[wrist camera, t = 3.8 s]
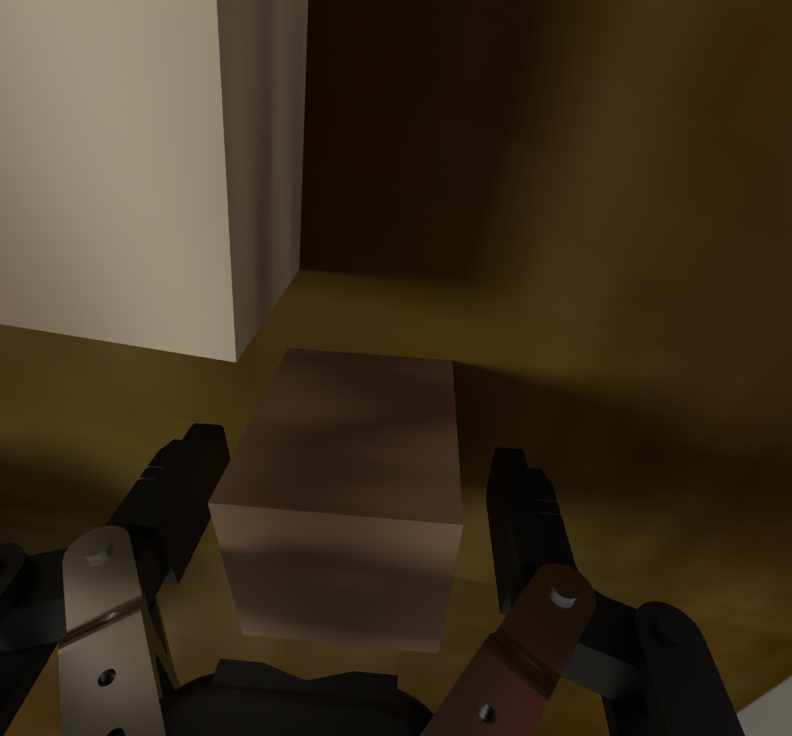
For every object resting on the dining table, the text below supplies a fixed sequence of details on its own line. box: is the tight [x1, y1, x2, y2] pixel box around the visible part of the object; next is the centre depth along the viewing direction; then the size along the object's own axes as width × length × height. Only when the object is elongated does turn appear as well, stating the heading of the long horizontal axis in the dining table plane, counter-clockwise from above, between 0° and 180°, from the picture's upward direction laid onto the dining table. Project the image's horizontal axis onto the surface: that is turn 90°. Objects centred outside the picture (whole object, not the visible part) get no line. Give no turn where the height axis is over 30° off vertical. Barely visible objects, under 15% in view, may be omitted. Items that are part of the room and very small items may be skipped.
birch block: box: [0, 0, 308, 362], centre depth 8 cm, size 9×9×5 cm
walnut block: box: [208, 348, 463, 653], centre depth 13 cm, size 5×5×6 cm
